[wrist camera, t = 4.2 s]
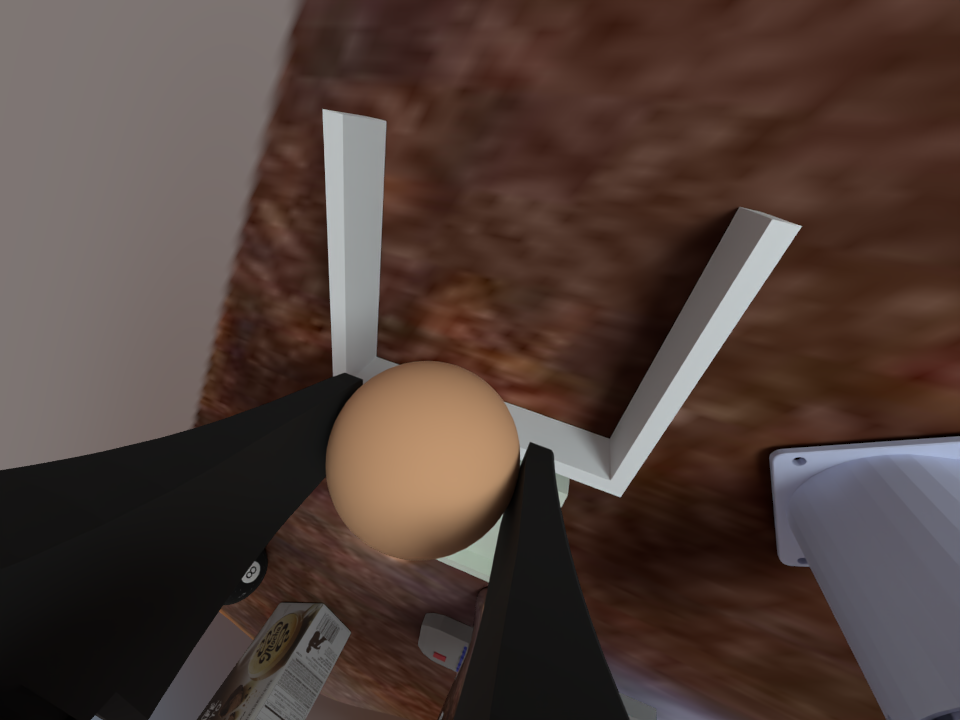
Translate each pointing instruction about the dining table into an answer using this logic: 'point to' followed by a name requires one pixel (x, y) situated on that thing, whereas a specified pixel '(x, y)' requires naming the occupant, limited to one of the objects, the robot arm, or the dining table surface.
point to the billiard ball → (250, 580)
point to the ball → (422, 460)
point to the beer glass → (463, 663)
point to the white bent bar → (577, 452)
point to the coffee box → (282, 666)
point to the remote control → (450, 643)
